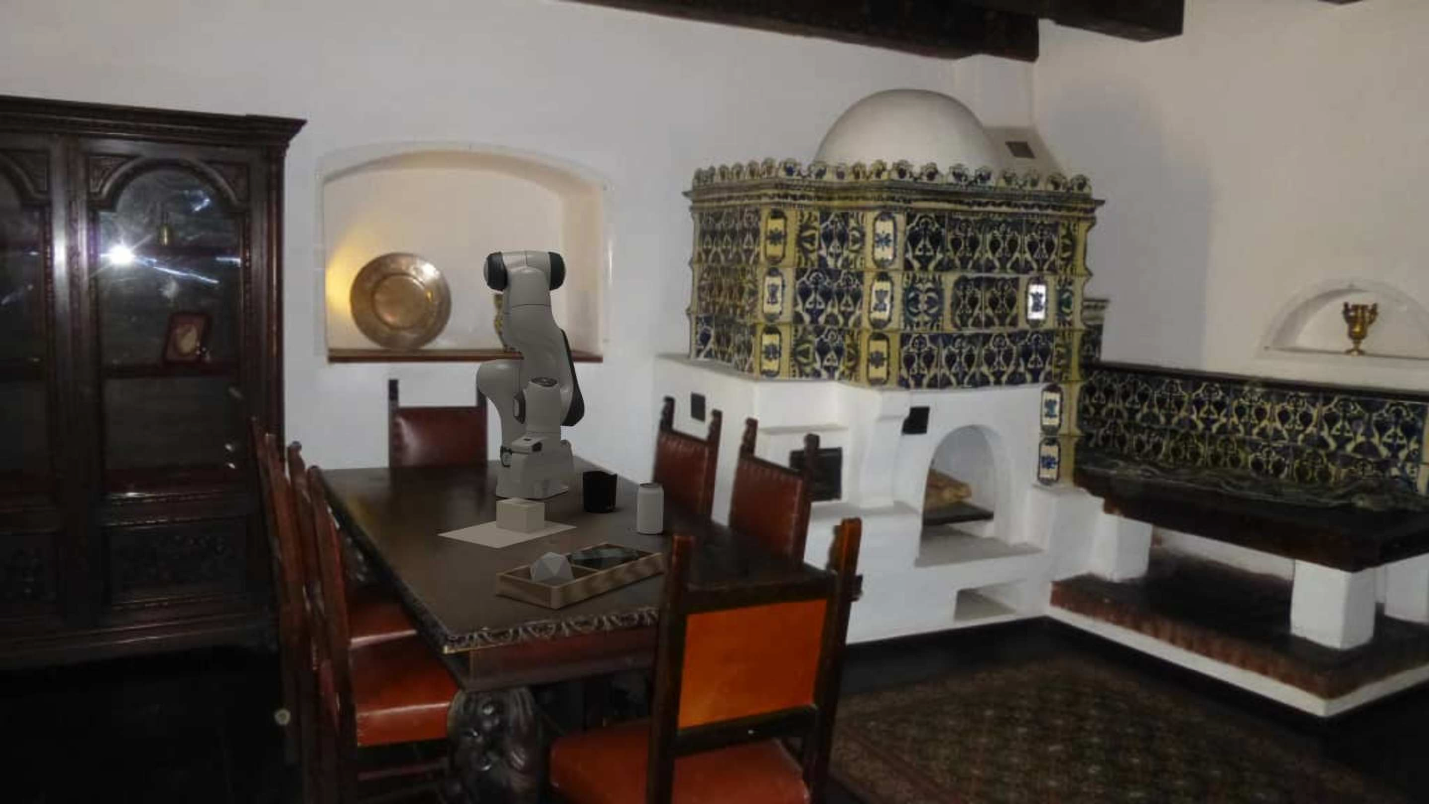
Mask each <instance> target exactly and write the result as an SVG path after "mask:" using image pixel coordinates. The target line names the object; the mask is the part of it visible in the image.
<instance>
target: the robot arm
mask: <svg viewBox="0 0 1429 804" xmlns="http://www.w3.org/2000/svg"><path fill="white" fill-rule="evenodd" d="M482 270H483V271H482V272H483V278H484V280H485V282H486V285H487V287H488V288H490V289H491V290H494V291H497V292H501V293H502V299H501V336H502V339H503V341H504V342H505V343H506V344H507V345H508V346H509V347H512V348H514V349H516V350H517V351H519V352H520V353H521V354H522V356H523V359H505V358H504V359H503V358H499V359H493V360H486V361H483V362H482V363H481V364H480V366H479V367H478V369H477V371H476V375H475V382H476V385H477V387H478V388H477V389H479V392H480V393H482V395H484V396H485V397H487V399H488V400H490V402H491V403H492V404H493V405H494V407H495V408H496V410H497V413H498V415H499V419H500V427H501V428H500V429H501V445H500V446H499V448H500V449H499V459H500V463H499V467H498V469H499V470H498V478H497V485H496V486H495V494H494V495H496V496H497V497H501V498H507V499H511V498H520V499H547V498H550V497H553V496H557V495H559V494H562V493H565V492H568V491H570V486H568V485H566V484H562V478H561V477H564V476H570V475H573V472H574V468H575V466H574V463H575V462H574V456H573V455H574V454H573V450H572V444H571V442H570V441H569V440H568V439H562V427H570V428H572V427H575V426H577V424H578V423H580V422H581V421H582V419H583V418H584V416H585V411H586V410H585V407H586V406H585V401H584V397H583V395H582V394H583V393H582V390H581V389H580V385H579V381H578V376H577V372H576V367H575V364H574V360H573V354H572V351H571V346H570V342H569V340H568V336H567V334H566V332H565V330H564V329H563V328H561V327H559V325H558V324H557V322H556V320H555V318H554V316H553V309H552V308H553V307H552V299H551V291H556V290H558V289H559V288H561V287H562V286H563V285H564V281H565V279H566V276H567V267H566V264H565V262H564V258H563V256H562V255H561V254H560V253H558V252H554V251H539V250H526V249H525V250H524V251H523V250H519V251H515V250H514V251H505V252H501V251H496V252H495V251H494V252H491V253H489V254H488V255H487V257H486V258H485V261H484V263H483V268H482Z"/></svg>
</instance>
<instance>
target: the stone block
mask: <svg viewBox="0 0 1429 804" xmlns="http://www.w3.org/2000/svg"><path fill="white" fill-rule="evenodd" d="M577 550H578V551H576V550H571V551H570V552H571V556H570V564H574V565H579V566H583V567H588V568H592V569H597V570H602V571H603V570H606V569H609V568H612V567H615V566H618V565H622V564H625V563H628V562H631V561H639V555H638V554H637V552H636V551H635V550H634V549H633V548H617V549H601V550H596V549H594V548H592V549H591V550H579V549H577Z"/></svg>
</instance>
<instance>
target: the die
mask: <svg viewBox="0 0 1429 804" xmlns="http://www.w3.org/2000/svg"><path fill="white" fill-rule="evenodd" d="M533 563H534V564H533V565H532V566H531V567H530V572H531V577H532V581H536V582H540V583H545V584H549V585H553V586H557V585H560V584H563V583H567V582H570V581H573V580H574V578H573V574H572V570H571V567H570V564H569V562H568V560H567V558H566V556H563V555H562V554H560V553H559V554H558V553H557V552H556V553H555V552H552V551H548V552H547V553H546V554H544V555H542V556H540V557H539V558H538V559H537V560H536V561H535V562H533Z"/></svg>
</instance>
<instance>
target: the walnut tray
mask: <svg viewBox="0 0 1429 804" xmlns="http://www.w3.org/2000/svg"><path fill="white" fill-rule="evenodd" d="M592 548H594V549H596V550H601V549H617V548H633V549H634V550H635V551H636V552H637V554H638V555H639V561H631V562H628V563H625V564H622V565H618V566H615V567H612V568H609V569H606V570H603V571H602V570H597V569H592V568H588V567H583V566H579V565H574V564H570V556H571V551H569V552H566V553H562V554H561V555H563V556H566V558H567V560H568V562H569V564H570V567H571V570H572V574H573V578H574V580H573V581H570V582H567V583H563V584H560V585H557V586H553V585H549V584H545V583H540V582H536V581H532V577H531V572H530V567H531V566H532V565H533V564H534V563H535V562H531V563H528V564H525V565H521V566H519V567H515V568H511V569H508V570H505V571H502V572H498V573H495V574H494V575H495V576H494V578H495V579H494V580H495V581H494V583H495V584H494V594H495V595H498V596H503V597H507V598H510V599H514V600H519V601H523V602H525V603H526V602H528V603H530V604H534V605H539V606H542V607H546V608H551V609H554V610H558V609H560V608H563V607H565V606H568V605H572V604H575V603H578V602H579V601H580V602H581V601H583V600H585V599H588V598H591V597H594V596H596V595H597V596H598V595H599V594H602V593H605V592H608V591H612V590H614V589H617V588H620V587H622V586H624V585H628V584H631V583H633V582H636V581H639V580H642V579H644V578H648V577H651V576H653V575H657V574H659V573H662V572H663V561H664V560H663V558H664V554H663V552H659V551H653V550H648V549H643V548H638V547H633V546H628V545H623V544H619V543H613V542H608V541H603V542H600V543H597V544H593V545H590V546H587V547H583V548H580V549H576V550H575V551H578V550H591V549H592Z"/></svg>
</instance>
